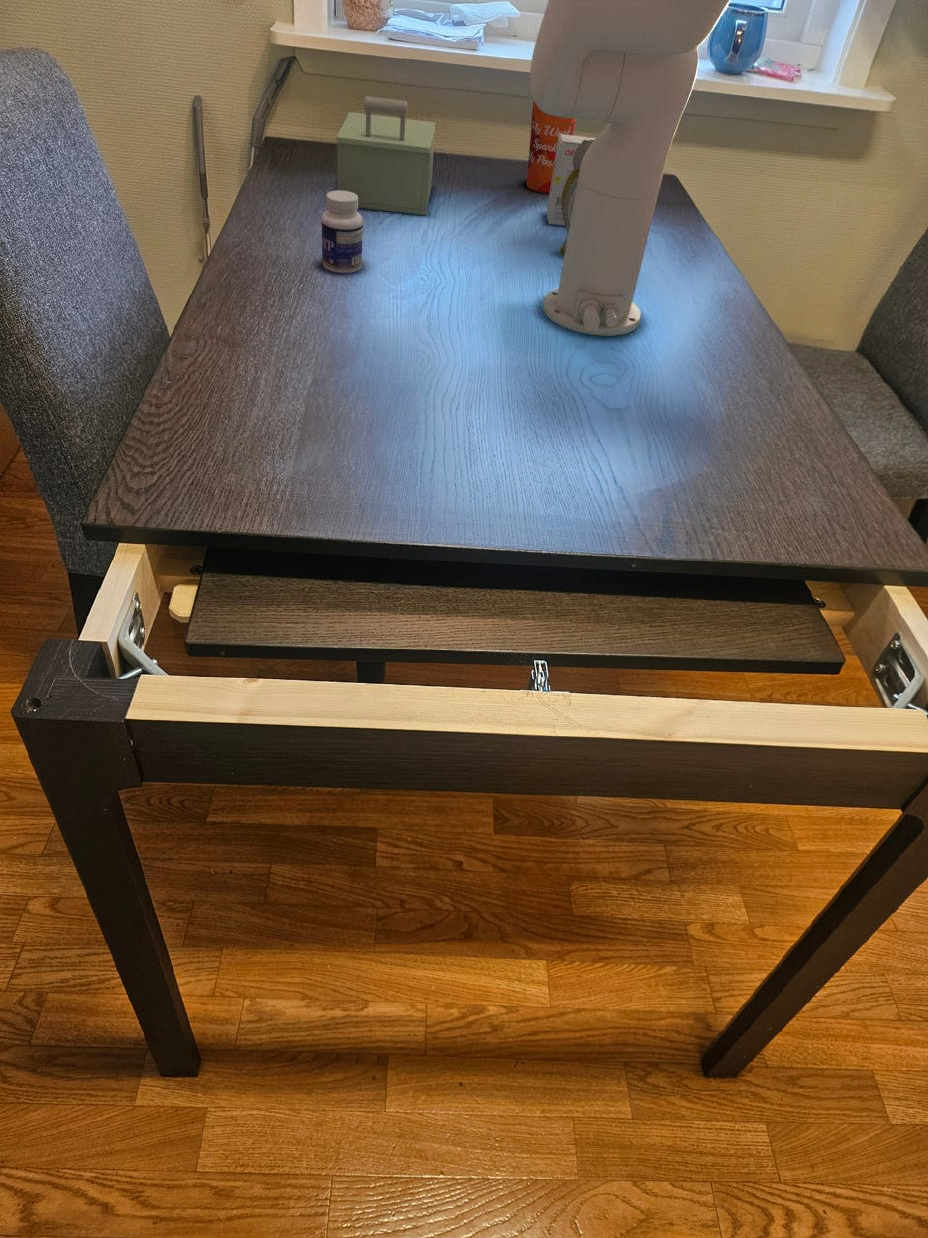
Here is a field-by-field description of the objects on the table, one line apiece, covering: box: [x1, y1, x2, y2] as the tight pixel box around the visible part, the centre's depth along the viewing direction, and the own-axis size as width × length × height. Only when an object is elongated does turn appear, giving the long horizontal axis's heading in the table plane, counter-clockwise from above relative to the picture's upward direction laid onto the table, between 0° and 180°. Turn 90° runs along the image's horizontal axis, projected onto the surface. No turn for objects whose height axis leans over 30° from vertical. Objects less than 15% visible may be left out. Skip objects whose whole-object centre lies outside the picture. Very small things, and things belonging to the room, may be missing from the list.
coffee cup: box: [526, 101, 578, 194], centre depth 141 cm, size 8×8×15 cm
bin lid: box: [336, 95, 436, 154], centre depth 126 cm, size 14×14×6 cm
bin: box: [336, 129, 436, 216], centre depth 131 cm, size 14×14×9 cm
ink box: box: [546, 134, 596, 227], centre depth 130 cm, size 9×5×12 cm, turn 89°
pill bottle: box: [321, 190, 364, 274], centre depth 110 cm, size 5×5×9 cm
